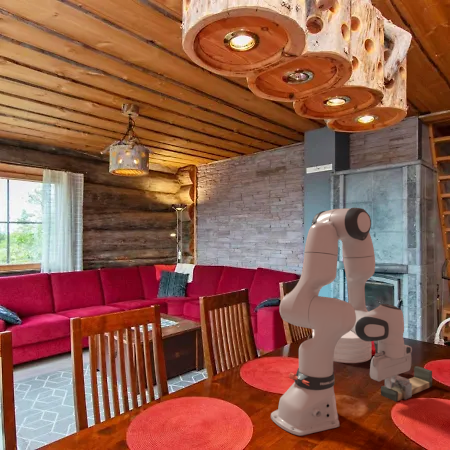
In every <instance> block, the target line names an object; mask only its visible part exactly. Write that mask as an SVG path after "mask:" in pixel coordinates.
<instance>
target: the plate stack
mask: <svg viewBox="0 0 450 450" xmlns="http://www.w3.org/2000/svg"><path fill="white" fill-rule="evenodd" d="M311 330H312V334H311V336H312V338H314V334H315V331H314V329H311ZM372 355H373V354H372V341H364V340H362V339H360V338H359V337H358V336H357V335H356V334H355V333H353V332H352V331H349V332H348V333H346V334H345V335H343V336H342V337H341V338H340V339H339V340H338V342H337V344H336V346H335V349H334V357H333V362H336V363H345V364H359V363H364V362H365V363H366V362H368V361H369V360H372V358H373V357H372Z"/></svg>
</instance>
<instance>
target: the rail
mask: <svg viewBox="0 0 450 450" xmlns="http://www.w3.org/2000/svg"><path fill="white" fill-rule="evenodd" d="M413 371H414V372H413V377H411V378H408V379H409V380H410V383H412V395H415V394H417V393H421V392H422V391H424V390H427V389H429V388H431V387H433V370H430V369H427V368H424V367H421V366H418V365H416V366H414V367H413ZM380 396H382V397H384V398H387V399H389V400H391V401H394V402H398V401H400V400H404V399H403V393H401V392H399V391H397V390H394V389H392V388H390V389H389V388H387V387H385V385H381V386H380Z"/></svg>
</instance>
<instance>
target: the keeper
mask: <svg viewBox="0 0 450 450" xmlns="http://www.w3.org/2000/svg"><path fill="white" fill-rule="evenodd" d="M409 379H410V378H406V377H403V376H401V375H398V377H397V380H396V382H395V387H393V388H392V389H394V390H397V391H399V392H401V393H403V399H402V400H405V401H406V400H407V399H411V398H412V397H413V396H412V383H410V380H409ZM384 386H385V387H386V381H385V380H384Z"/></svg>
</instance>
